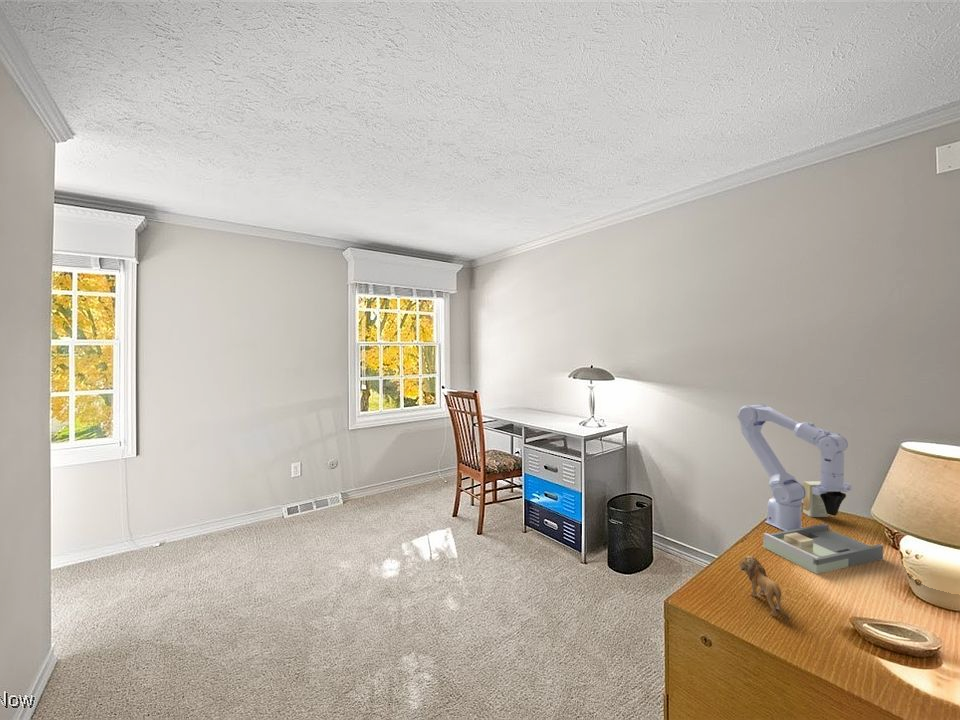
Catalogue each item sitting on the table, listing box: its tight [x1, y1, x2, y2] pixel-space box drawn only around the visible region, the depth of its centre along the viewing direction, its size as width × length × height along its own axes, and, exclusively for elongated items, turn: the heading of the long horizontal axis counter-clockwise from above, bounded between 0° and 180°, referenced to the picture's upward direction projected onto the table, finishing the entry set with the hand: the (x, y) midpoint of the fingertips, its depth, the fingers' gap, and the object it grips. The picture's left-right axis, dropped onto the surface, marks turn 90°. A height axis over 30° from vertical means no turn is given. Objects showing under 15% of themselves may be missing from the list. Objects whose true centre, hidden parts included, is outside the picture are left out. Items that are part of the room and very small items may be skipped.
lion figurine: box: [737, 555, 790, 621], centre depth 105 cm, size 15×5×9 cm, turn 5°
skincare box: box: [802, 480, 829, 518], centre depth 157 cm, size 6×4×12 cm
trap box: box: [762, 523, 884, 575], centre depth 129 cm, size 16×27×4 cm, turn 107°
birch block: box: [784, 533, 813, 554], centre depth 126 cm, size 5×5×4 cm
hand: (831, 514), depth 135 cm, fingers closed
